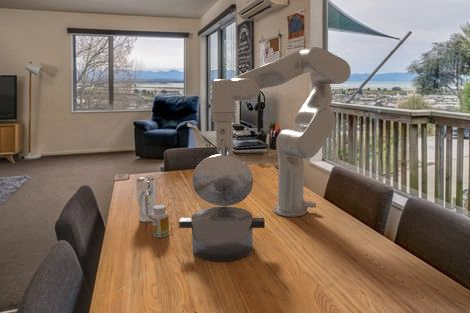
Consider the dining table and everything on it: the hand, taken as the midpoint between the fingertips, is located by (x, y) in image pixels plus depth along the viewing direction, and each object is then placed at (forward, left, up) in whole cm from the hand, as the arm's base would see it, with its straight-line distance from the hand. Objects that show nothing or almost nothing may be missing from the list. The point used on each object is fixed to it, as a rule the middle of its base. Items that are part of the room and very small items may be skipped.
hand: (224, 171), depth 126 cm
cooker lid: (0, +12, 0) cm, 12 cm away
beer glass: (+29, -6, -19) cm, 35 cm away
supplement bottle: (+21, +8, -19) cm, 30 cm away
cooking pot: (0, +18, -19) cm, 26 cm away
